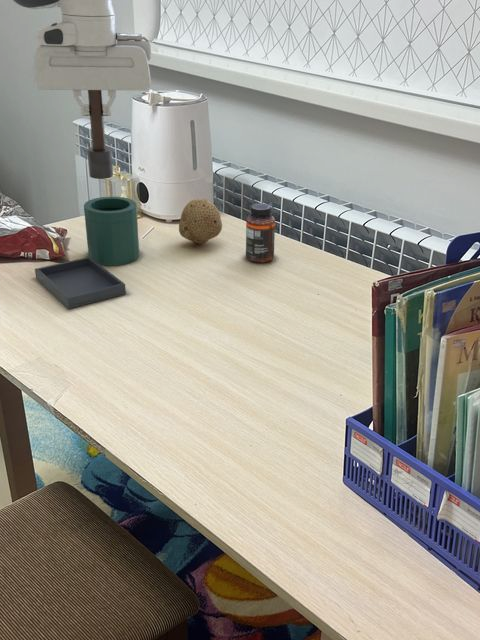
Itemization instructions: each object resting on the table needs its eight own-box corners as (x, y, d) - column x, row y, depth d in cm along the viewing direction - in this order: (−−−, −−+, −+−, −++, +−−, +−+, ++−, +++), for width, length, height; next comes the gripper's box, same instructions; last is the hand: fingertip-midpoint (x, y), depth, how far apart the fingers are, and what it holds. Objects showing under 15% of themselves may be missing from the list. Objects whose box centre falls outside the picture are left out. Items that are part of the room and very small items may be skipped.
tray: (36, 278, 132) (34, 268, 131) (90, 266, 138) (89, 256, 137) (68, 309, 122) (67, 298, 121) (126, 294, 128) (125, 283, 127)
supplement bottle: (268, 251, 149) (270, 200, 143) (277, 262, 144) (280, 209, 138) (241, 254, 147) (243, 202, 141) (250, 265, 142) (251, 211, 136)
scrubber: (85, 174, 132) (77, 86, 124) (106, 171, 135) (100, 84, 127) (95, 180, 129) (88, 90, 121) (117, 176, 132) (111, 88, 124)
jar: (80, 252, 144) (75, 201, 139) (124, 243, 150) (121, 193, 144) (102, 269, 137) (97, 216, 132) (147, 258, 143) (145, 207, 137)
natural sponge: (230, 243, 152) (231, 199, 147) (204, 255, 145) (204, 209, 140) (199, 233, 156) (199, 190, 151) (172, 244, 150) (171, 199, 145)
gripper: (150, 32, 124) (153, 112, 131) (31, 29, 120) (40, 111, 127) (151, 36, 119) (154, 119, 126) (27, 33, 115) (37, 119, 122)
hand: (96, 115), depth 126 cm, fingers closed on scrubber, 2 cm apart
